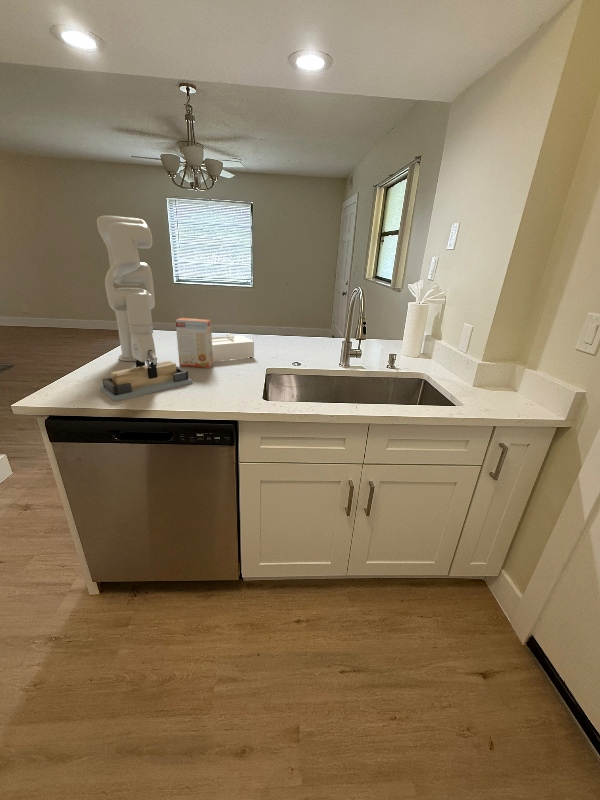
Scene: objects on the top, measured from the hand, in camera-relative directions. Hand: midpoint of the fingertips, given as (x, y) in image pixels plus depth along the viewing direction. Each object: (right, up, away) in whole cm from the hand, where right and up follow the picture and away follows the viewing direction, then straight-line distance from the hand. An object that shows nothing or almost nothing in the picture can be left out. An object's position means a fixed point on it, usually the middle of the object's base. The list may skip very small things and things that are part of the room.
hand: (147, 374), depth 126 cm
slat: (-1, -3, +1) cm, 3 cm away
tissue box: (+19, +12, +45) cm, 51 cm away
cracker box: (+9, +6, +29) cm, 31 cm away
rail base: (0, -4, +2) cm, 5 cm away
